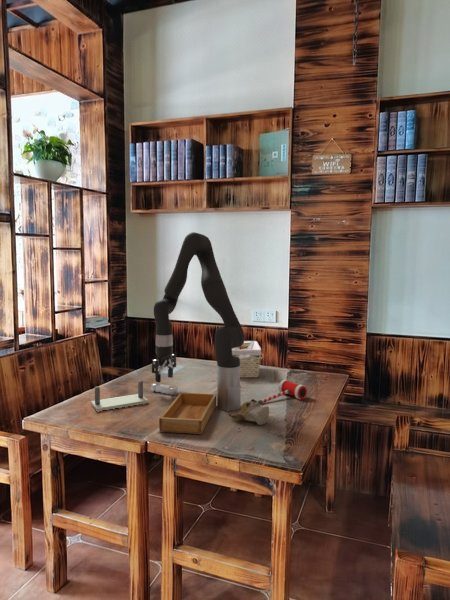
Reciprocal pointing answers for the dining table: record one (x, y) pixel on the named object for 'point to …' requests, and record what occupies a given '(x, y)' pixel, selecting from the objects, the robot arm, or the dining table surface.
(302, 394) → the toy hammer
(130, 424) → the dining table surface
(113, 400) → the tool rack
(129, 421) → the dining table surface
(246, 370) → the storage basket
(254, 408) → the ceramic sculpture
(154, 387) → the grey dumbbell
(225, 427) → the dining table surface
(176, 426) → the tray
